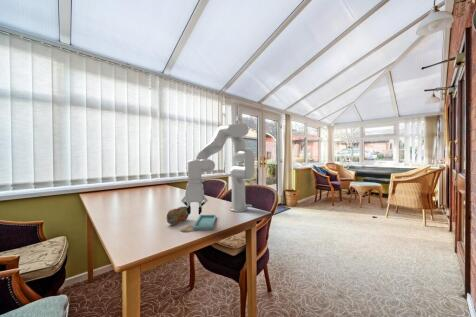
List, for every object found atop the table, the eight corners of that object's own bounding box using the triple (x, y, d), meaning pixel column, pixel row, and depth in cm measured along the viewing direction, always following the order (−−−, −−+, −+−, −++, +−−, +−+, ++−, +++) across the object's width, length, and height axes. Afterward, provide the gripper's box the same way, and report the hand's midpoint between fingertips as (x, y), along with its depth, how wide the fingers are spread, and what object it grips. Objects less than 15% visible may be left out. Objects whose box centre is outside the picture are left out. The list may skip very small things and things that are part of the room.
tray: (216, 217, 126) (216, 214, 126) (212, 230, 105) (212, 226, 105) (200, 217, 126) (199, 214, 126) (192, 230, 105) (192, 226, 105)
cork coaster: (196, 226, 111) (196, 225, 111) (193, 232, 103) (193, 231, 103) (182, 226, 110) (182, 225, 110) (177, 232, 102) (177, 231, 102)
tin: (169, 226, 111) (169, 211, 110) (165, 225, 112) (165, 210, 112) (189, 219, 124) (189, 205, 123) (185, 218, 125) (185, 204, 125)
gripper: (210, 180, 119) (210, 212, 119) (181, 180, 119) (181, 212, 119) (209, 182, 112) (208, 215, 112) (177, 182, 111) (177, 215, 111)
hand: (194, 213), depth 115 cm, fingers open, 5 cm apart
